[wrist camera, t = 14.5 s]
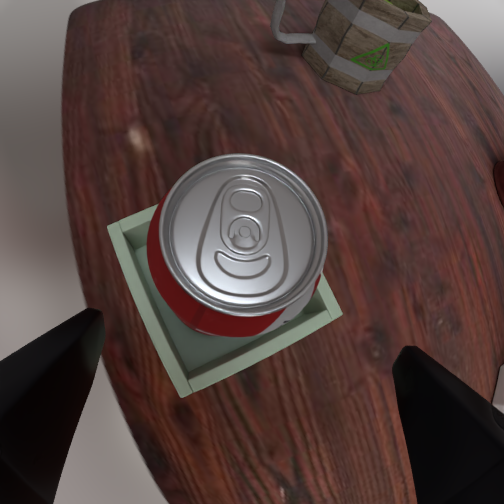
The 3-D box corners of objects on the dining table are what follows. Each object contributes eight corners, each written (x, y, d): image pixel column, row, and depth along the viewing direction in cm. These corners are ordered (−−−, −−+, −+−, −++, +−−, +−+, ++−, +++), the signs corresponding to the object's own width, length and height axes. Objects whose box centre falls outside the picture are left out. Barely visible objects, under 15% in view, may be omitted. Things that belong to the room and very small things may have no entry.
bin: (183, 385, 20) (180, 398, 15) (121, 247, 21) (106, 225, 17) (315, 319, 23) (343, 314, 18) (251, 194, 24) (265, 164, 20)
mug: (367, 46, 34) (406, -15, 22) (394, 103, 31) (450, 36, 20) (254, 25, 30) (277, -55, 19) (264, 81, 28) (299, -17, 16)
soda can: (162, 331, 20) (126, 327, 8) (172, 234, 22) (158, 129, 10) (263, 338, 21) (346, 339, 10) (266, 243, 23) (338, 154, 11)
